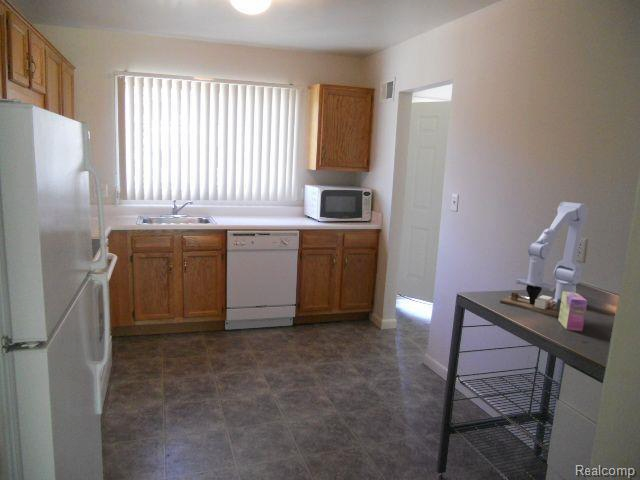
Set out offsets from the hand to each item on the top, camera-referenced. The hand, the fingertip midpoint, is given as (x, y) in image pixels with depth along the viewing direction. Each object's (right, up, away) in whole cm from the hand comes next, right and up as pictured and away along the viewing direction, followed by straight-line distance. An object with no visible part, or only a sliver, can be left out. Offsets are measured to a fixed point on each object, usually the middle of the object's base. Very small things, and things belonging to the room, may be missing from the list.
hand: (532, 303), depth 197 cm
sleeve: (+5, -1, 0) cm, 5 cm away
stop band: (+7, -1, -2) cm, 7 cm away
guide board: (+2, -2, +2) cm, 4 cm away
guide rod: (+3, +1, +1) cm, 3 cm away
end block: (+10, -3, -4) cm, 11 cm away
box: (+6, -6, -19) cm, 21 cm away
